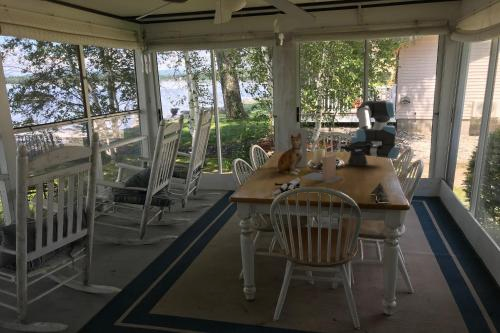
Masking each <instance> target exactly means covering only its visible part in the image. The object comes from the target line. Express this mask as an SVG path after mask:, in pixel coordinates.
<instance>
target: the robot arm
mask: <svg viewBox="0 0 500 333" xmlns="http://www.w3.org/2000/svg"><path fill="white" fill-rule="evenodd" d="M355 114H356V118H357V119H358V126H359V127H358V129H356V135H353V136H352V137H351V138H350V144H345V143H339V144H336V149H337V150H344V151H346V152H349V157H348V160H347V165H348V166H352V167H366V166H368V164H369V163H368V159H367V157H375V158H376V159H377V158H382V159H383V158H384V159H397V158H398V156H399V153H400V148H399V146H396V135H397V134H396V132H397V131H396V126H394V125H388V122H389V121H390V120H391V119H393V118H395V117H394V116H395V111H394V101H393V100H367V101H364V102H363V103H362V104H360V105H359V106H358V107H357V110H356V113H355ZM372 119H373V120H374V123H373V125H372Z"/></svg>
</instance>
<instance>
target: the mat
mask: <svg viewBox="0 0 500 333" xmlns="http://www.w3.org/2000/svg"><path fill="white" fill-rule="evenodd" d="M322 175H323V173H322V172H320V173H319V172H311V173H308V174H306V175H302V176H299V179H300V178H301V179H305V180H312V181H317V182H323V183H326V184H331V183H333V182H336V181H338V180H340V179H343V178H344V177H343V176H338V175H336V176H335V178H332V179H330V180H327V181H324V180H322Z"/></svg>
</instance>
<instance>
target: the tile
mask: <svg viewBox="0 0 500 333" xmlns="http://www.w3.org/2000/svg"><path fill="white" fill-rule="evenodd" d="M336 167H337V154H333V153H331V154H329V155H324V156H322V174H323V175H322V180H324V181H327V180H330V179H332V178H335V176H337V174H336V173H337V171H336V169H337V168H336Z"/></svg>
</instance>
